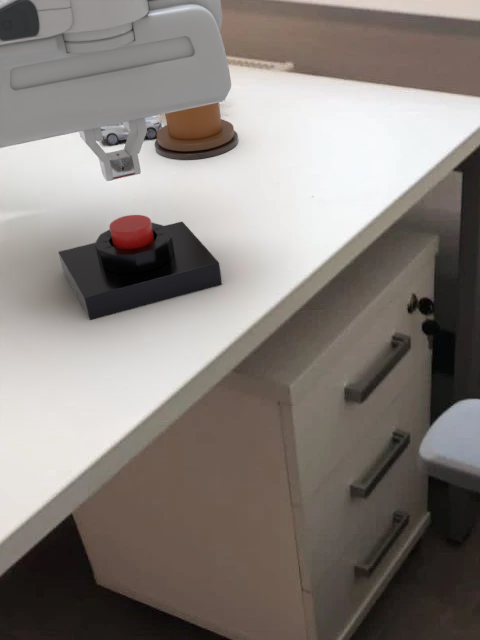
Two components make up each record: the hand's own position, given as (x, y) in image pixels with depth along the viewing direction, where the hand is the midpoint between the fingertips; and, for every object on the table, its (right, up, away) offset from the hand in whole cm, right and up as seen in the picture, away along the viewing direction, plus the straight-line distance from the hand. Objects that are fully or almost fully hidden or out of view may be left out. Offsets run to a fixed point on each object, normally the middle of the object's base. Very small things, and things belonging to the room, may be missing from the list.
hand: (122, 175), depth 74 cm
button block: (0, -7, +6) cm, 10 cm away
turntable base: (+2, +14, +32) cm, 35 cm away
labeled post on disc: (+2, +14, +32) cm, 35 cm away
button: (0, -5, +4) cm, 6 cm away
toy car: (-6, +16, +36) cm, 40 cm away
